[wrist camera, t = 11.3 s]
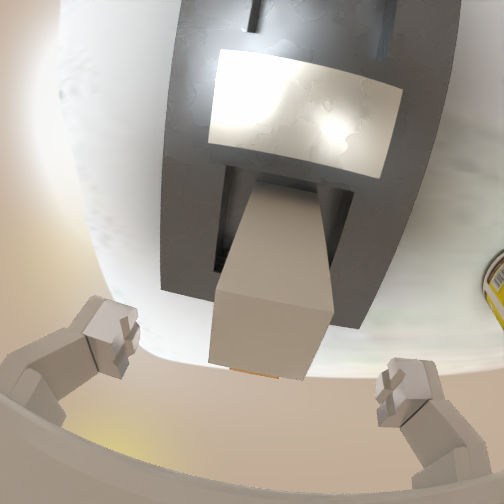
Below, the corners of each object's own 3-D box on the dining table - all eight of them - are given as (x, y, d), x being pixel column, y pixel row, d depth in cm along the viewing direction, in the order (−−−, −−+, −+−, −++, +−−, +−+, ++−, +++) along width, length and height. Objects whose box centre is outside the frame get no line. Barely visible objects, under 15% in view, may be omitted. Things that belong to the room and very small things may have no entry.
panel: (221, -84, 9) (208, -106, 7) (442, -35, 9) (464, -49, 6) (175, 264, 22) (160, 290, 20) (353, 300, 22) (359, 330, 19)
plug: (256, 180, 18) (215, 289, 9) (317, 193, 18) (334, 312, 9) (244, 246, 20) (207, 374, 12) (300, 257, 20) (297, 391, 11)
